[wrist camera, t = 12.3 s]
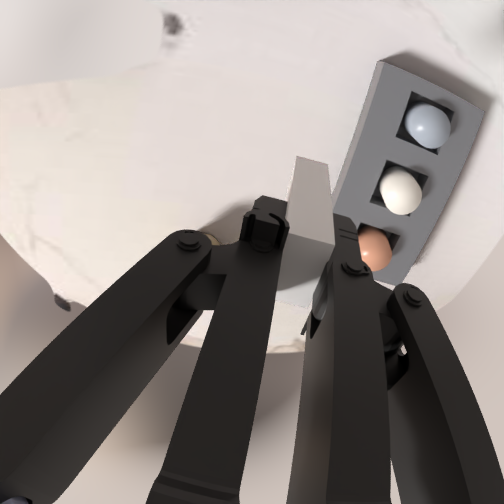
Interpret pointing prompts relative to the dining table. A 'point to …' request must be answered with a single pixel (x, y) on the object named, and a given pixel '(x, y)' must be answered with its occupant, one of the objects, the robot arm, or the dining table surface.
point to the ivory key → (399, 190)
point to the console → (402, 163)
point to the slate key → (427, 124)
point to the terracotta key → (374, 247)
